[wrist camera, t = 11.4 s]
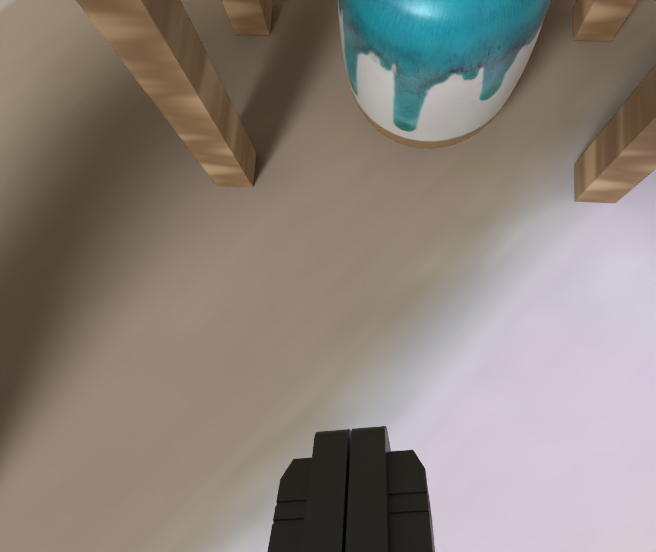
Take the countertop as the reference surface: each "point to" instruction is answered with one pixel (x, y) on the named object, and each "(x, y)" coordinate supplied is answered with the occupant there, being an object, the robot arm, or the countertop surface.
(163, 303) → the countertop surface
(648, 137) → the riser shelf
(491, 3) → the vase
